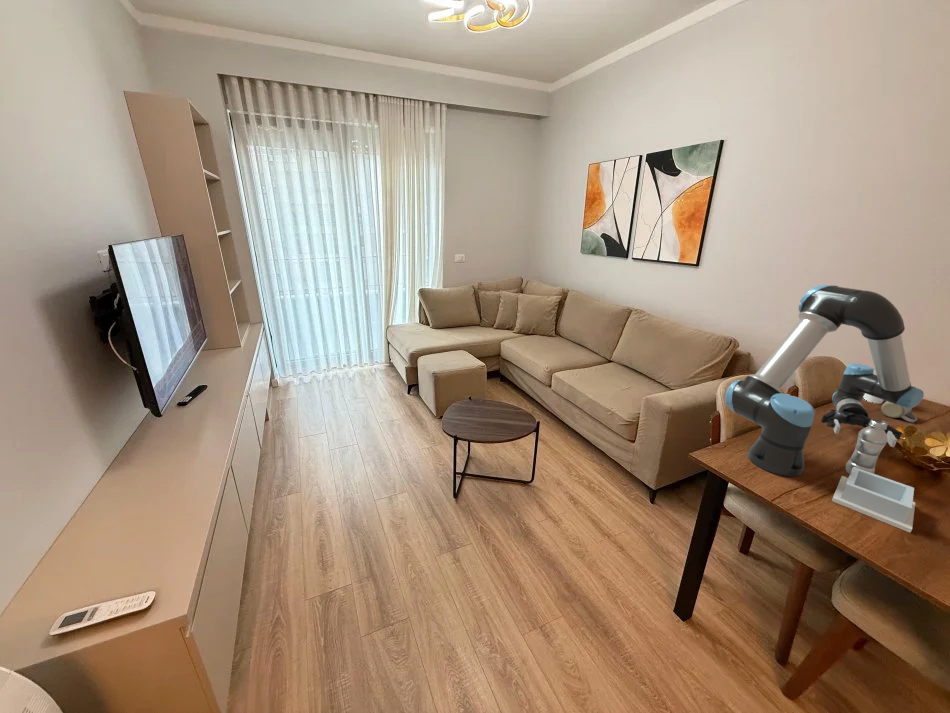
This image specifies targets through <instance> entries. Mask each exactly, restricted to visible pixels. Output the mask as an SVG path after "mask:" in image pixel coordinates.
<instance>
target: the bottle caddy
mask: <svg viewBox="0 0 950 713" xmlns="http://www.w3.org/2000/svg"><path fill="white" fill-rule="evenodd" d="M914 491H915V487H913V486H911V485H906V484H904V483H901V482H899V481H895V480H893V479H890V478H887V477H884V476H881V475H879V474H876V473H874V474H873V473H870V472H867V471H864V470H861V469H858V468H856V467H853V468H852V470H851V473H850V474H849V475H848V477H847V476H844V475H841V477H840V480H839V481H838V485H837V487H836V489H835V492H834V494H833V496H832V499H831V502H833V503H835V504H838V505H840V506H843V507H846V508H847V509H850V510H853V511H856V512H857V513H860V514H863V515H866V516H868V517H870V518H873V519H875V520H877V521H880V522H883V523H884V524H888V525H889V526H892V527H895V528H897V529H899V530H902V531H905V532H908V533H911V532H912V530H913V524H914V518H915V517H914V515H915V507H916V502H915V501H914V495H915V494H914V493H915V492H914Z"/></svg>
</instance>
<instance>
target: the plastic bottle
mask: <svg viewBox="0 0 950 713" xmlns="http://www.w3.org/2000/svg"><path fill="white" fill-rule="evenodd" d="M879 419H880V418H871V421H870V423H869V426H868V427H865V428H864V427H862V429H860V430H859V431H858V435H857V439H856V440H857V441H856V445H855V448H854V451H853V452H852V455H851V456H850V458H849V459H848V461H847V462H846V464H845V470H846V472H847V473H848V474H849V475H850V473H851V470H852V468H853V467H856V468H858V469H861V470H864V471H867V472H870V473H873V474H875V472H876V465H877V461H878V458H879V456H880V454H881V452H882V450H884V447H885V446H886V445H887V443H888V442H887V441H888V437H887V435H886V433H885V431H884V430H886V429H887V425H889V423H888V422H887V421H885V420H882V419H881V420H879Z"/></svg>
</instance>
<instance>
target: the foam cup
mask: <svg viewBox="0 0 950 713" xmlns="http://www.w3.org/2000/svg"><path fill="white" fill-rule="evenodd" d="M873 374H874V375H877V374H876V370H874V373H873ZM863 398H864V399H865V400H864V399H863V400H864V401H866V400H867V401H866V402H869V403H872V402H873V403H872V404H883V402H884V401H885V400H882V399H880V398H877V397H874V396H871V395H869V394H866V393H865V394H864V396H863Z"/></svg>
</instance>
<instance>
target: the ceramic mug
mask: <svg viewBox="0 0 950 713" xmlns="http://www.w3.org/2000/svg"><path fill="white" fill-rule="evenodd" d="M880 410H881V412H882V414H884V415H885V416H886V417H888V418H893V419H897V418H901V419H903V420H904V421H906V422H909V423H915V422H916V421H917V420H918V418H917V416H916V415H915V414H914V413H912V410H913V408H906V407H903V406H900V405H895V404H893V403H891V402H888V401H885V402H884V403H882V405H881V409H880ZM907 415H908V416H907Z"/></svg>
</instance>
